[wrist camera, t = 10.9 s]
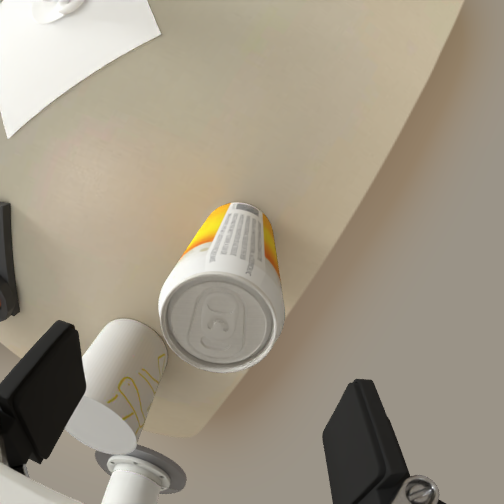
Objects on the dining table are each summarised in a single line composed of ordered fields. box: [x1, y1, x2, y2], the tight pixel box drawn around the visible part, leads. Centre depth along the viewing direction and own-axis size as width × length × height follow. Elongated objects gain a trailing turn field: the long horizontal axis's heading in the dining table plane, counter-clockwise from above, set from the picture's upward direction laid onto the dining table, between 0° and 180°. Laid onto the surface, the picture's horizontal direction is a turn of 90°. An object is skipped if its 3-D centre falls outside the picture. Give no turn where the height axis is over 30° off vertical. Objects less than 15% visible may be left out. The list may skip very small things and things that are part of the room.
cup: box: [64, 319, 168, 455], centre depth 27 cm, size 8×8×12 cm
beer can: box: [158, 202, 285, 373], centre depth 21 cm, size 6×6×15 cm
